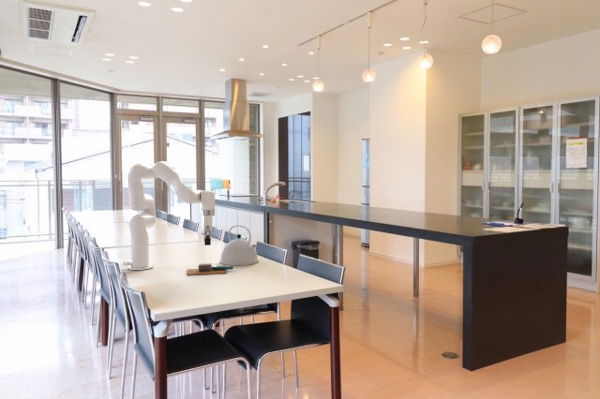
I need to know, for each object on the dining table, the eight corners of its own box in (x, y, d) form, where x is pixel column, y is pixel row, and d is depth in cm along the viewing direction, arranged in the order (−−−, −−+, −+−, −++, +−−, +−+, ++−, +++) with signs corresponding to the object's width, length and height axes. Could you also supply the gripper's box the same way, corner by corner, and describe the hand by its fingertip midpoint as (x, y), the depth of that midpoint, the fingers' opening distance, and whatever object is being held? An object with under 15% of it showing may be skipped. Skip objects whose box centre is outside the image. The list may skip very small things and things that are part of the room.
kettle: (268, 261, 284) (267, 225, 283) (243, 267, 265) (243, 228, 264) (237, 257, 298) (237, 222, 297) (212, 262, 280) (212, 225, 278)
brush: (198, 271, 250) (198, 265, 250) (198, 270, 254) (198, 263, 254) (233, 270, 254) (233, 263, 254) (233, 268, 258) (233, 262, 258)
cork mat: (187, 275, 245) (187, 273, 245) (188, 270, 257) (188, 269, 256) (225, 273, 249) (225, 272, 249) (224, 269, 261) (224, 267, 261)
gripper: (200, 211, 259) (200, 241, 260) (200, 214, 243) (200, 246, 244) (214, 211, 261) (213, 241, 262) (215, 214, 244) (214, 246, 245)
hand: (207, 243), depth 253 cm, fingers open, 9 cm apart
